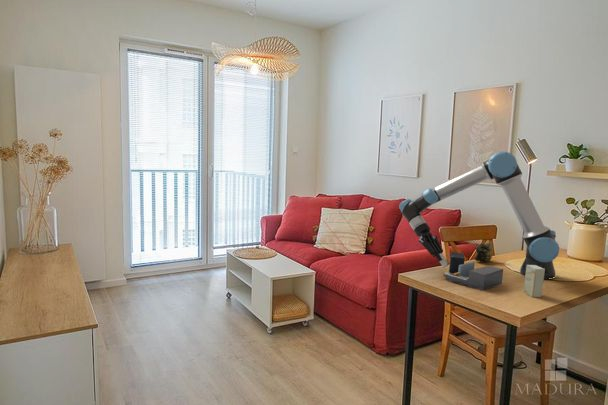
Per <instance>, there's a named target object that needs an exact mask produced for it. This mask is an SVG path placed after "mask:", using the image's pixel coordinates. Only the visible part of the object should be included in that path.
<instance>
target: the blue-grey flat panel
mask: <svg viewBox="0 0 608 405" xmlns="http://www.w3.org/2000/svg"><path fill="white" fill-rule="evenodd" d="M475 262H476V261H470V262H466V263H464V264H462V265H459V268H458V273H454V275H457V274H458V275H461V276H464V277H468V278H469V271H470V270H474V269H475V264H476V263H475Z"/></svg>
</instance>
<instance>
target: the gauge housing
mask: <svg viewBox="0 0 608 405" xmlns="http://www.w3.org/2000/svg"><path fill="white" fill-rule="evenodd" d="M444 275H445V281H450V282H453V283H456V284H460V285H462V286H466V287H470V288H473V289H476V290H480V291H486V290H488V289H492V288H495V287H498V286H501V285H503V275H504V268H500V267H496V266H492V265H486V266H481V267H478V268H474V270H470V271H469V277H464V276H461V275H458V274H457V275H454V273H450V272H449V271H446V272H444Z"/></svg>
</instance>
